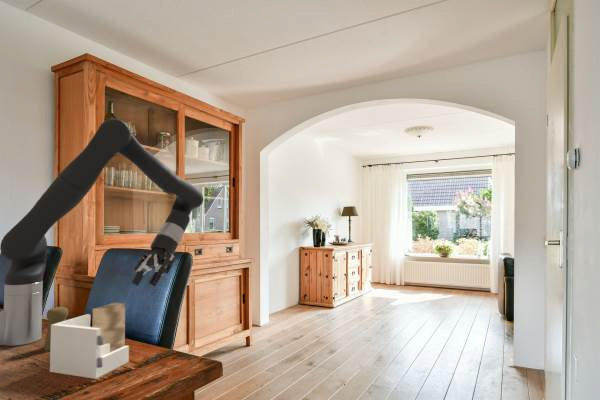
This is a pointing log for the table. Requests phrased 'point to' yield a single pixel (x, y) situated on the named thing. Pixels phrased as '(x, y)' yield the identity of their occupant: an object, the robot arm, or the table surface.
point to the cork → (54, 322)
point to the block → (111, 324)
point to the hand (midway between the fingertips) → (142, 284)
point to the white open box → (82, 349)
